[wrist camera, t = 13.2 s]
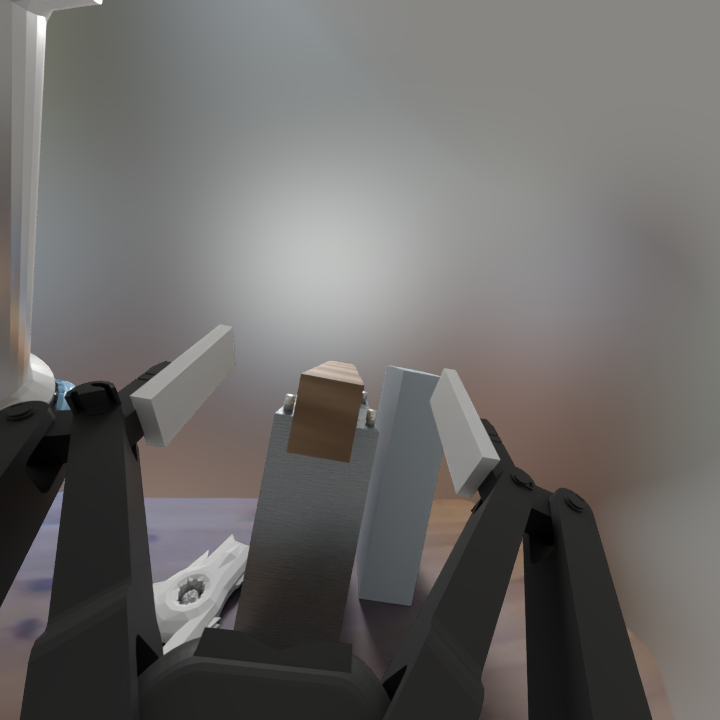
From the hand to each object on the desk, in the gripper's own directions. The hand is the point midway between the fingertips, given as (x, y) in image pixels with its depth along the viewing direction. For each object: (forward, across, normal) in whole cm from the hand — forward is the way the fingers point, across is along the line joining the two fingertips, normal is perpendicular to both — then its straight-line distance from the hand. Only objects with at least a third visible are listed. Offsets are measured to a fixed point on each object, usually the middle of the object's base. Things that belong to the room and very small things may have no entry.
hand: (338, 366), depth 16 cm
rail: (+9, 0, -12) cm, 15 cm away
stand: (+5, +12, -37) cm, 39 cm away
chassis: (-1, 0, -34) cm, 34 cm away
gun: (-5, -12, -32) cm, 35 cm away
